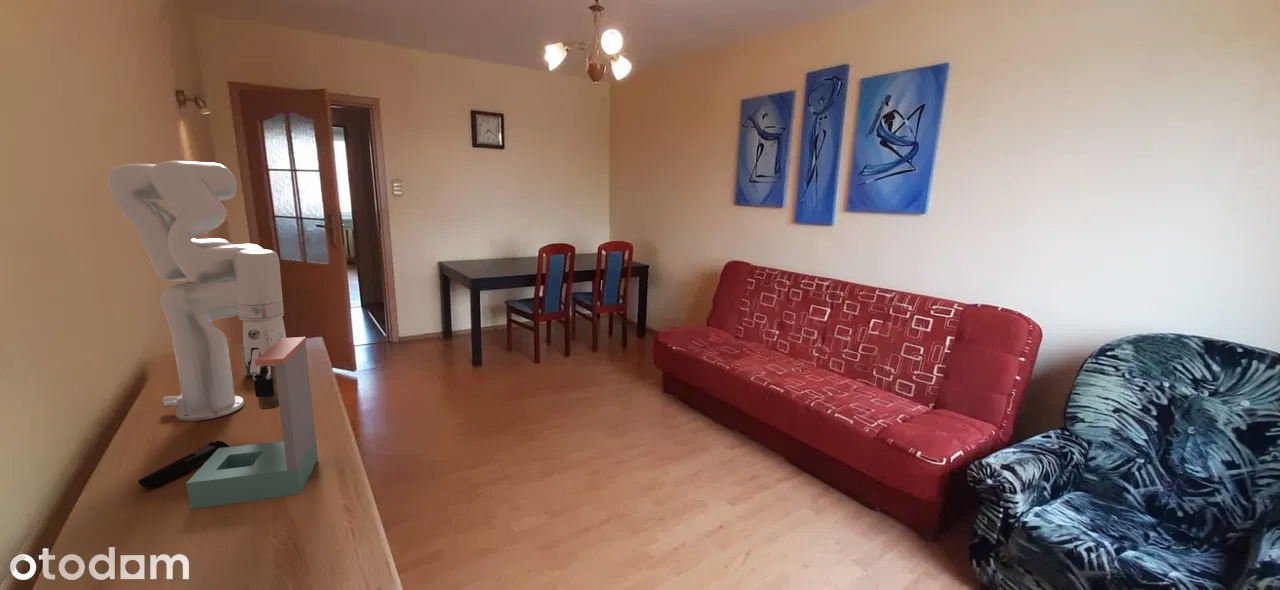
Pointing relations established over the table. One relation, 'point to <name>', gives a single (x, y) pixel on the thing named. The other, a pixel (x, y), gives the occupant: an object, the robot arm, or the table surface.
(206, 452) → the electric trimmer
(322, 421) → the table surface
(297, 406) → the socket stand
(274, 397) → the walnut peg
